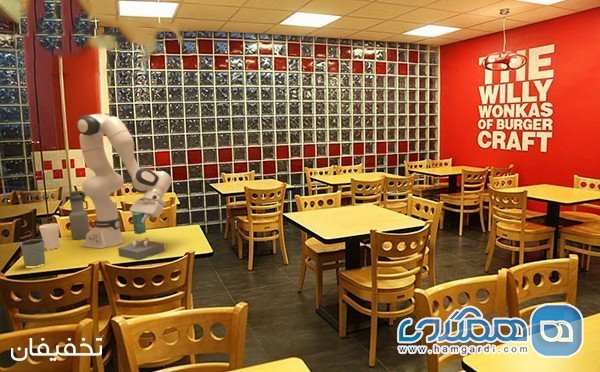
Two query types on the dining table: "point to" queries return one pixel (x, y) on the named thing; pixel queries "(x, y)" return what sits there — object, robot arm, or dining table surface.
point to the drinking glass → (33, 252)
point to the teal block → (138, 223)
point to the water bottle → (78, 215)
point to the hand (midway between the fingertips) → (137, 221)
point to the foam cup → (50, 235)
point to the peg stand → (141, 249)
